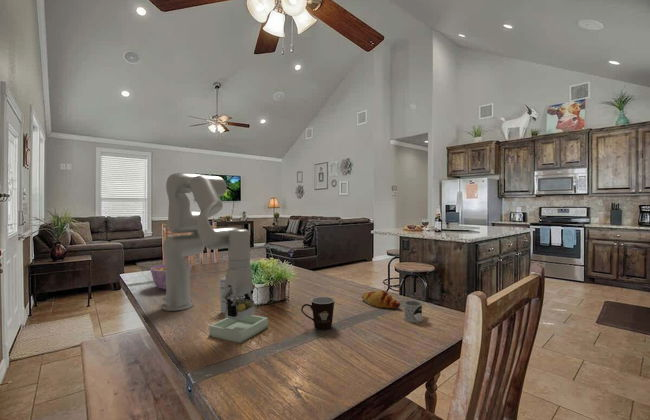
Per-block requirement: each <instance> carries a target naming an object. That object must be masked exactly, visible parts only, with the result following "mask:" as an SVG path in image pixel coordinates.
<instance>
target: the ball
mask: <svg viewBox="0 0 650 420" xmlns="http://www.w3.org/2000/svg"><path fill="white" fill-rule="evenodd" d="M237 309H238V311H239V312H242V311H244V310H245V309H246V306H245V305H244V304H239V305H238V307H237Z"/></svg>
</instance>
